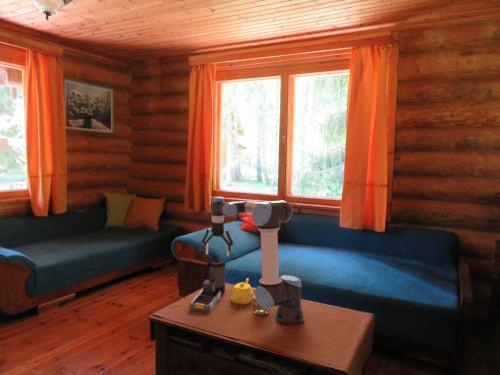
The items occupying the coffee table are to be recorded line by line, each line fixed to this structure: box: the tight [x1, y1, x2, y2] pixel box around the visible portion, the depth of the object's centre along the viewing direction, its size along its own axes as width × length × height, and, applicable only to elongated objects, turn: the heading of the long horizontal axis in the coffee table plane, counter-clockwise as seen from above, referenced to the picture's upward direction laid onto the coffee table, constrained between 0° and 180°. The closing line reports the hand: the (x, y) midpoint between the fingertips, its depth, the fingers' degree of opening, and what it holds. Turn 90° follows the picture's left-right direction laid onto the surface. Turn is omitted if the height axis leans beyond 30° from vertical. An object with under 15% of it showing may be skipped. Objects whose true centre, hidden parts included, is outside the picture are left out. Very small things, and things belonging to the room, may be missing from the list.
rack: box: [189, 279, 222, 314], centre depth 215 cm, size 12×23×11 cm, turn 169°
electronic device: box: [209, 260, 226, 295], centre depth 231 cm, size 9×6×20 cm, turn 130°
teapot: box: [230, 277, 257, 305], centre depth 221 cm, size 22×16×11 cm
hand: (217, 255), depth 230 cm, fingers open, 13 cm apart
